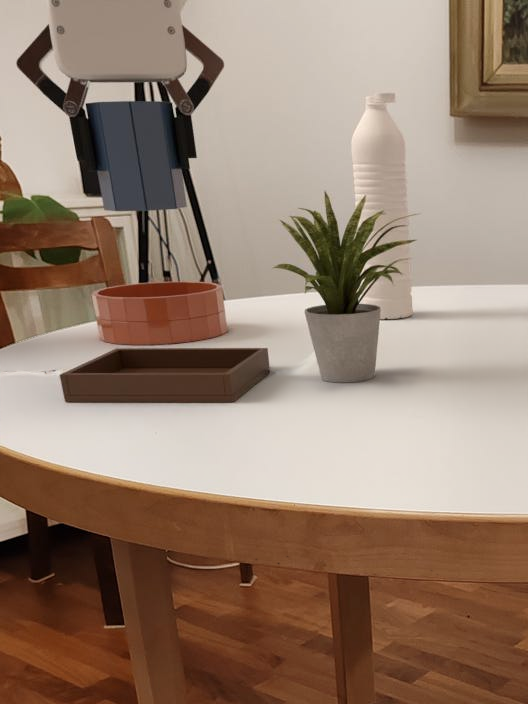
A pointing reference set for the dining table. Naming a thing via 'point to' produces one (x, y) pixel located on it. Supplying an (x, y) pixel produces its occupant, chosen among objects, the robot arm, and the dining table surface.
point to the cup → (136, 155)
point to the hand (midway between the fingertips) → (139, 168)
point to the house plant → (342, 292)
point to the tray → (166, 375)
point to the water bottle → (383, 203)
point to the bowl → (160, 312)
